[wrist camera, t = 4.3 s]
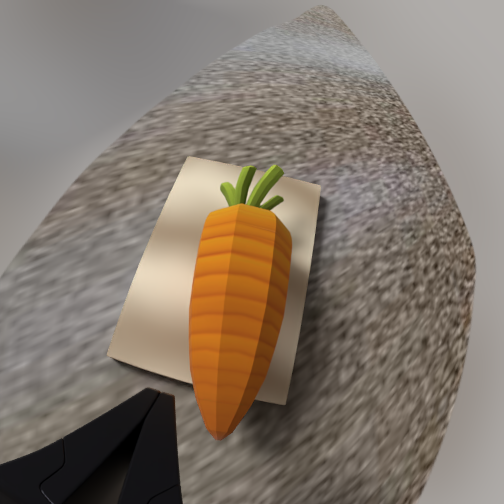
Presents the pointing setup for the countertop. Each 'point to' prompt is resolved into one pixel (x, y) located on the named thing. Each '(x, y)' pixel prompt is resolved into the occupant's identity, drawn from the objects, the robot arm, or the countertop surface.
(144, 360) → the cutting board
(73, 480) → the robot arm
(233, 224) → the carrot
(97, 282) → the countertop surface
